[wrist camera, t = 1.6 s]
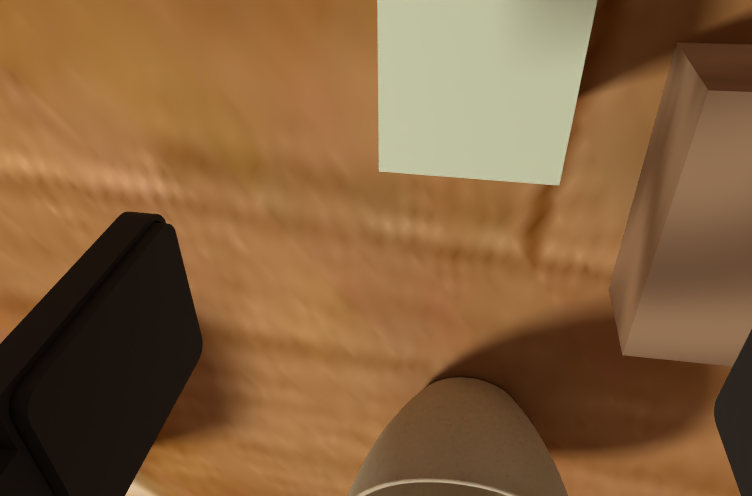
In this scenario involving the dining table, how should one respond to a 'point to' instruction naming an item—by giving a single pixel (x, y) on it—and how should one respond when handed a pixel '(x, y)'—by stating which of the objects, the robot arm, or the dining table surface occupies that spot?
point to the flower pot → (459, 447)
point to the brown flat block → (692, 216)
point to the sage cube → (480, 86)
